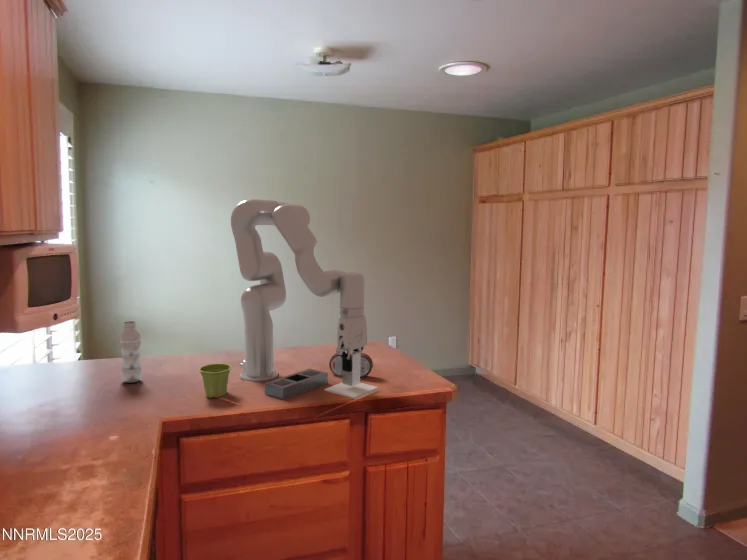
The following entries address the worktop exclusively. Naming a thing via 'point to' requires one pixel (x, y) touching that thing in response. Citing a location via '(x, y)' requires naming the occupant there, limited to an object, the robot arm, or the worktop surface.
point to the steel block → (353, 370)
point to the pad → (352, 390)
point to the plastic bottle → (130, 353)
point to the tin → (365, 365)
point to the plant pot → (215, 379)
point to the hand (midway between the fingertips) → (351, 368)
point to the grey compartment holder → (296, 383)
